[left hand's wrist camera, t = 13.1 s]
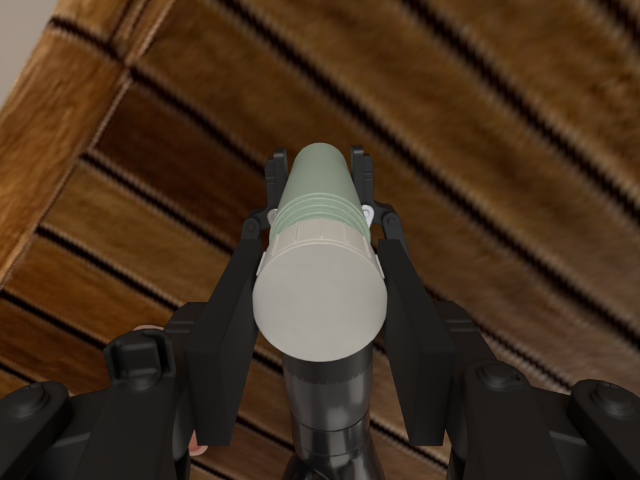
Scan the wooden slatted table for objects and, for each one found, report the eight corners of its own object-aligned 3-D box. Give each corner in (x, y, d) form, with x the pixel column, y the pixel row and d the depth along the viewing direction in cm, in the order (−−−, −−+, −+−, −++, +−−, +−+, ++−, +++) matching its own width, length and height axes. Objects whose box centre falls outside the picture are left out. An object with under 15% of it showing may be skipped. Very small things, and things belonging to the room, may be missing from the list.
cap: (361, 332, 16) (368, 372, 13) (252, 311, 15) (241, 349, 13) (393, 231, 14) (406, 258, 12) (272, 205, 14) (263, 228, 12)
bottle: (339, 201, 34) (368, 368, 14) (288, 190, 34) (240, 344, 13) (352, 149, 33) (407, 251, 12) (299, 137, 32) (262, 220, 12)
